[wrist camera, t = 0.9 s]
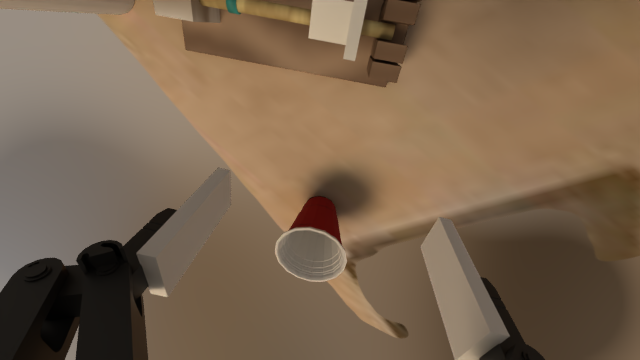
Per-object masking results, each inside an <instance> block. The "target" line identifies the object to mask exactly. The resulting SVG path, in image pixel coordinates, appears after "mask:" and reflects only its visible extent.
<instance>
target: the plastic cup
mask: <svg viewBox="0 0 640 360" xmlns="http://www.w3.org/2000/svg"><path fill="white" fill-rule="evenodd" d="M275 254H276V257H277V259H278V262H279V263H280V264H281V265H282V267H283V268H284V269H285V270H286V271H287V272H289V273H291V274H292V275H294V276H296V277H297V278H300V279H304V280H308V281H316V282H324V281H327V280H331V279H334V278H336V277H337V276H338V275H340V274H341V273H342V272H343V271H344V268H345V266H346V263H347V259H346V254H345V249H344V248H343V246H342V243H341V238H340V232H339V225H338V219H337V214H336V209H335V206H334V204H333V203H332V201H331V200H329V199H327V198H325V197H321V196H318V197H313V198H311V199H309V200H308V201H307V202H306V204H305V205H304V207H303V209H302V210H301V212H300V213H299V215H298V216H297V218H296V219H295V221H294V223H293V224H292V226H291V228H290V229H289V230H288V231H286V232H284V234H282V236H281V237H280V238H279V239H278V240H277V242H276V247H275Z"/></svg>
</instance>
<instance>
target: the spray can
mask: <svg viewBox="0 0 640 360" xmlns="http://www.w3.org/2000/svg"><path fill="white" fill-rule="evenodd" d="M133 5H134V0H0V9H17V10H37V11H56V12H75V13H95V14H114V15H121V14H125V13H128V12H129V11H130V10H131V9H132V7H133Z"/></svg>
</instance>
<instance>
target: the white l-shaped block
mask: <svg viewBox="0 0 640 360" xmlns="http://www.w3.org/2000/svg"><path fill="white" fill-rule="evenodd" d="M367 1H368V0H354V2H351V1H345V0H312V9H311V18H310V27H309V37H308V38H310V39H315V40H321V41H326V42H331V43H337V44H342V45H346V46H345V51H344V57H343V59H346V60H352V61H355V58H356V54H357V49H358V44H359V39H360V35H361V30H362V25H363V20H364V16H365V11H366V6H367Z"/></svg>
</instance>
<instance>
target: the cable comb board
mask: <svg viewBox="0 0 640 360" xmlns="http://www.w3.org/2000/svg"><path fill="white" fill-rule="evenodd" d="M345 1H351V2H354V0H345ZM419 1H421V0H368V1H367V6H366V11H365V16H364V20H363V25H362V30H361V35H360V39H359V44H358V49H357V54H356V58H355V61H352V60H346V59H343V57H344V51H345V46H346V45H342V44H337V43H331V42H326V41H321V40H315V39H310V38H308V37H309V27H310V18H311V9H312V0H153V4H154V9H155V15H159V16H165V17H170V18H176V19H181V20H182V26H183V34H184V41H185V48H186V50H189V51H194V52H199V53H205V54H210V55H215V56H221V57H226V58H231V59H237V60H242V61H247V62H253V63H258V64H263V65H269V66H274V67H279V68H285V69H290V70H295V71H301V72H306V73H312V74H317V75H322V76H328V77H333V78H338V79H344V80H349V81H354V82H360V83H365V84H370V85H376V86H381V87H386V85H387V81H388V82H394V83H397V79H398V76H399V73H400V70H401V66H400V65H398V64H397V63H401V64H402V63H403V60H404V57H405V54H406V50H407V47H408V46H406V45H403V43H404V39H405V36H406V33H407V29H408V26H409V25H415V21H416V18H417V15H418V12H419V8H420V5H421V4H416V3H417V2H419Z"/></svg>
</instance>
